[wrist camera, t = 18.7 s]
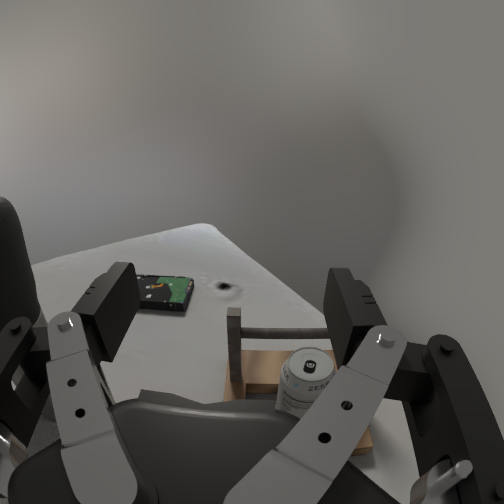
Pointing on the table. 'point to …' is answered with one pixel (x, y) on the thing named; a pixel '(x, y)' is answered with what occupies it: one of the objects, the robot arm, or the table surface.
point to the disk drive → (164, 292)
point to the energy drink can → (303, 379)
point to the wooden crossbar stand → (267, 363)
